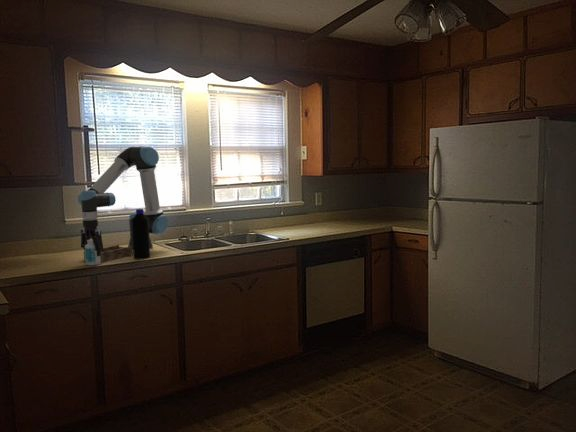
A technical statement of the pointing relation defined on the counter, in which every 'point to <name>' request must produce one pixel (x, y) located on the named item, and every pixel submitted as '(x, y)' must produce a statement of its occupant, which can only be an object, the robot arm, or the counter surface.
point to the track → (114, 252)
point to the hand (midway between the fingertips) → (92, 261)
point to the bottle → (140, 235)
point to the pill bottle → (90, 253)
